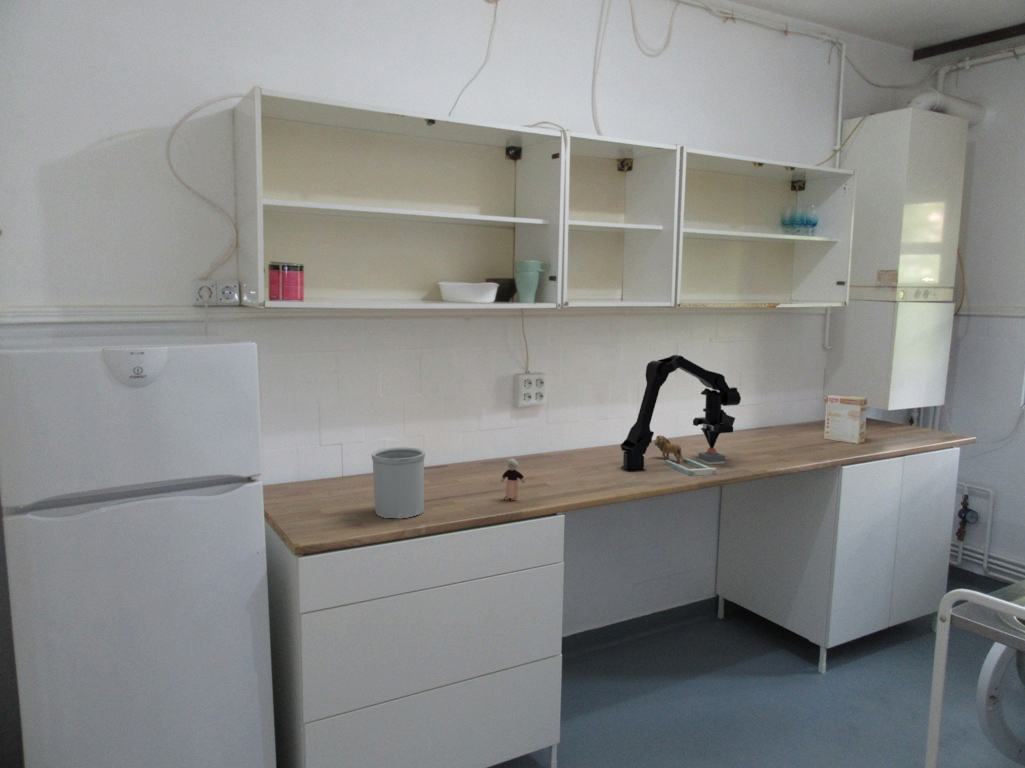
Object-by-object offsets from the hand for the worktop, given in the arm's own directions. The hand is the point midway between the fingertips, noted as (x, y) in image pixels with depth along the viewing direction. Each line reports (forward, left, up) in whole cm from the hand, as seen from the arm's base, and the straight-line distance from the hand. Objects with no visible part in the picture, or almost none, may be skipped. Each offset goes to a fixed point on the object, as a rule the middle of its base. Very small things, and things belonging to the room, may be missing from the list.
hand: (711, 447), depth 272 cm
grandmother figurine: (-87, -29, -6) cm, 92 cm away
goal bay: (-14, -8, -6) cm, 17 cm away
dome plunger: (0, 0, -4) cm, 4 cm away
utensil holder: (-122, -33, -6) cm, 126 cm away
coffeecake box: (+79, +21, -6) cm, 82 cm away
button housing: (0, 0, -6) cm, 6 cm away
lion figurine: (-14, +7, -6) cm, 17 cm away
